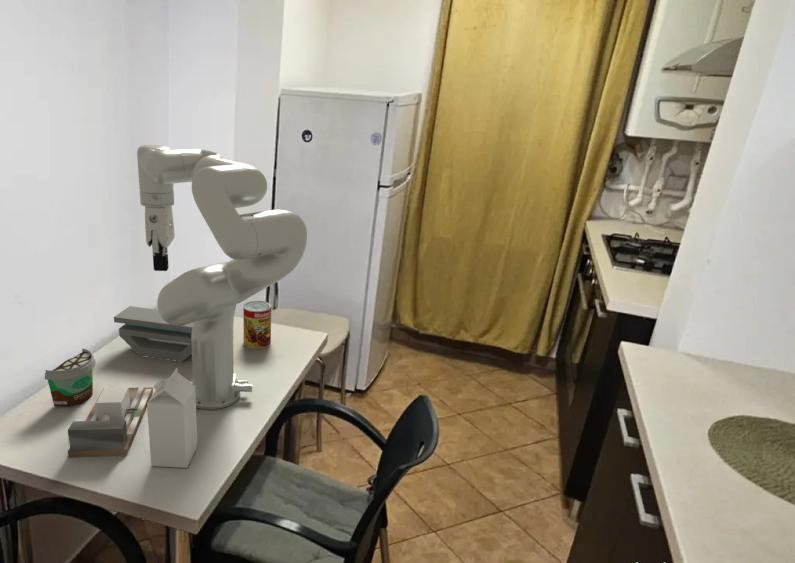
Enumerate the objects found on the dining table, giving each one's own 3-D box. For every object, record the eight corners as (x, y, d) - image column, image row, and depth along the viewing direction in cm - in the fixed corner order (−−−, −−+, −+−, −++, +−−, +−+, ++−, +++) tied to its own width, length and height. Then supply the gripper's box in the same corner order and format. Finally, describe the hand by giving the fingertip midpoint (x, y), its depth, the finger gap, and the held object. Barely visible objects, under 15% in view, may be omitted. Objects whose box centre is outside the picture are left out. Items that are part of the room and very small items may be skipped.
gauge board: (104, 393, 135) (102, 369, 132) (153, 392, 137) (151, 369, 135) (68, 457, 113) (64, 430, 110) (127, 455, 115) (124, 428, 113)
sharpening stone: (216, 352, 159) (216, 317, 155) (205, 365, 151) (204, 328, 148) (132, 340, 160) (129, 306, 157) (117, 353, 153) (113, 317, 149)
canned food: (261, 351, 162) (262, 313, 158) (238, 345, 164) (237, 307, 160) (275, 340, 169) (276, 303, 165) (252, 334, 171) (252, 298, 167)
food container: (72, 415, 126) (68, 376, 122) (49, 409, 127) (43, 371, 123) (110, 388, 137) (106, 351, 134) (88, 383, 138) (84, 347, 135)
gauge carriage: (107, 405, 127) (105, 386, 125) (141, 404, 129) (140, 386, 127) (98, 422, 121) (96, 402, 119) (134, 421, 123) (132, 402, 121)
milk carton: (197, 446, 119) (194, 368, 113) (186, 468, 113) (183, 387, 106) (163, 445, 119) (159, 366, 112) (151, 466, 112) (145, 384, 106)
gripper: (167, 206, 128) (171, 280, 134) (179, 192, 142) (182, 260, 148) (132, 204, 127) (137, 279, 133) (147, 190, 140) (152, 259, 147)
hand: (161, 269), depth 140 cm, fingers closed
